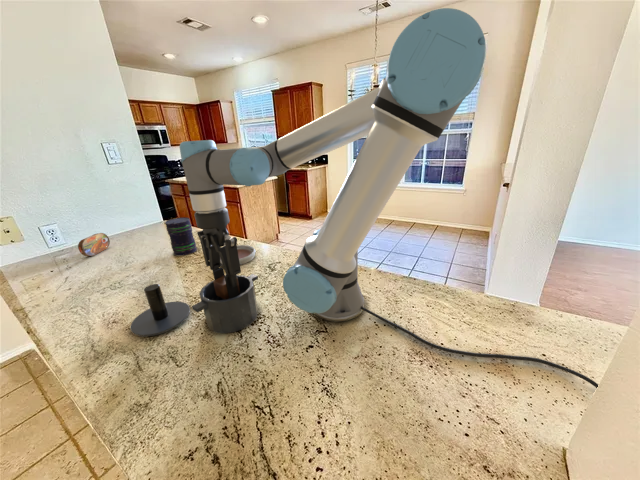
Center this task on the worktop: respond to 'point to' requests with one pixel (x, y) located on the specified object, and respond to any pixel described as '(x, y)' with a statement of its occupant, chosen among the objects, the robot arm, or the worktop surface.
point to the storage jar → (181, 236)
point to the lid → (159, 314)
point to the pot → (229, 306)
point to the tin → (93, 244)
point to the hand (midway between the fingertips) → (228, 293)
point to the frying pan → (244, 253)
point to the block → (222, 288)
